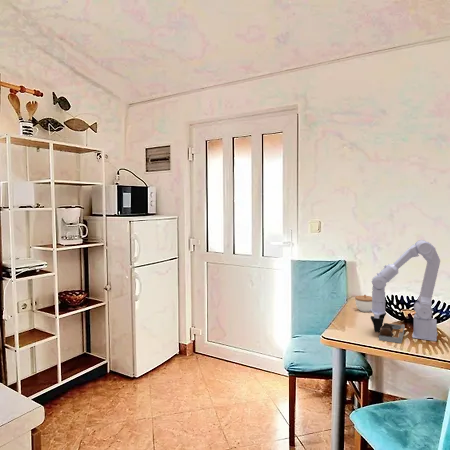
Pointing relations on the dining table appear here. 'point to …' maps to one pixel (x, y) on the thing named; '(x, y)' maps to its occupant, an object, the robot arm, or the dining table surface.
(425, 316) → the robot arm
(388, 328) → the bolt
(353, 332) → the dining table surface
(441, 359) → the dining table surface
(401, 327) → the hub cradle
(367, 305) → the lidded jar
